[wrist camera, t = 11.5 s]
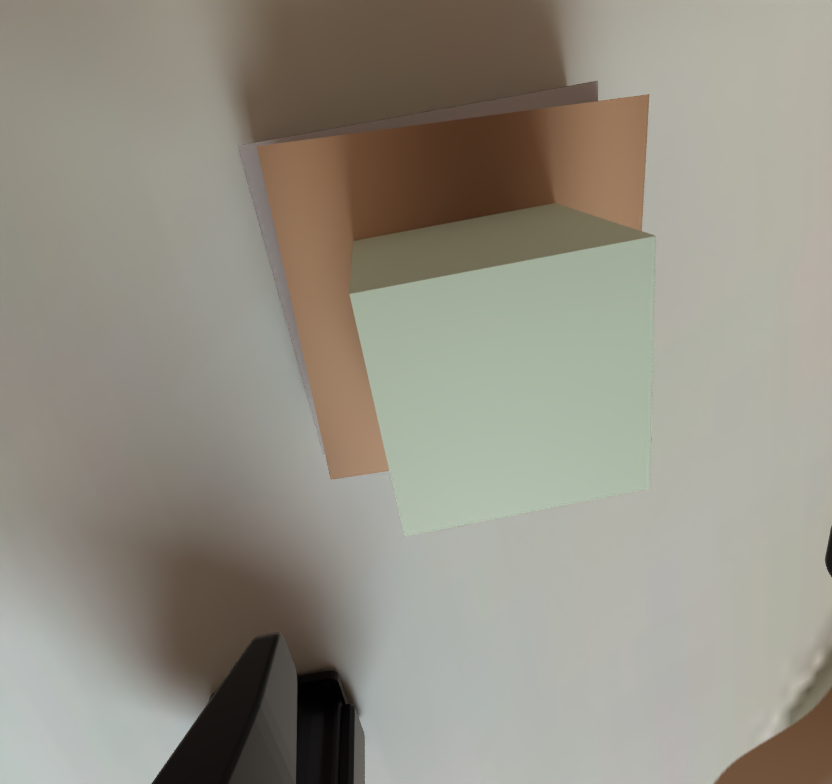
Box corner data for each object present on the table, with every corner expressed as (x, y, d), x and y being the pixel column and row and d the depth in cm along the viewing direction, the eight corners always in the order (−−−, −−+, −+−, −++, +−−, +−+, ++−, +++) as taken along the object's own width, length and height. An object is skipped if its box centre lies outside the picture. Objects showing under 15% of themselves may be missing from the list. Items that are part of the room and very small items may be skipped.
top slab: (335, 430, 19) (330, 479, 16) (276, 145, 15) (256, 146, 12) (592, 393, 19) (630, 434, 16) (598, 102, 15) (649, 94, 12)
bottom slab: (328, 415, 22) (323, 454, 19) (257, 144, 18) (237, 145, 15) (573, 370, 22) (602, 402, 19) (562, 89, 18) (597, 80, 15)
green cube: (391, 419, 15) (404, 536, 11) (353, 240, 13) (349, 294, 9) (564, 386, 15) (649, 489, 11) (554, 203, 13) (655, 235, 9)
